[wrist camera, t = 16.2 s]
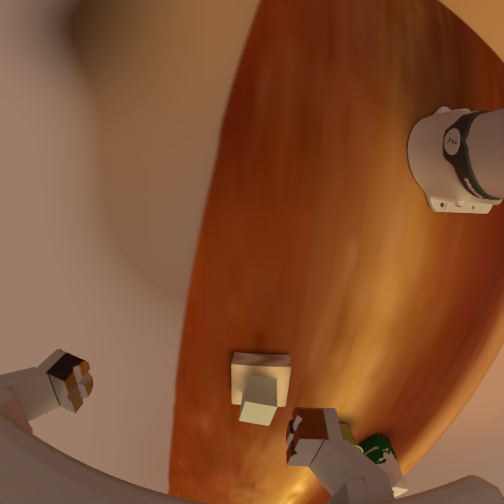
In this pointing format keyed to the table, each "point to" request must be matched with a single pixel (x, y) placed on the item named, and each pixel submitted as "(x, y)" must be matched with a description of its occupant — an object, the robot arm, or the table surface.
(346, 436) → the plant pot
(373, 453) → the milk carton
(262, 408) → the sage block
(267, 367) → the birch block
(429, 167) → the robot arm
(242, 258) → the table surface
